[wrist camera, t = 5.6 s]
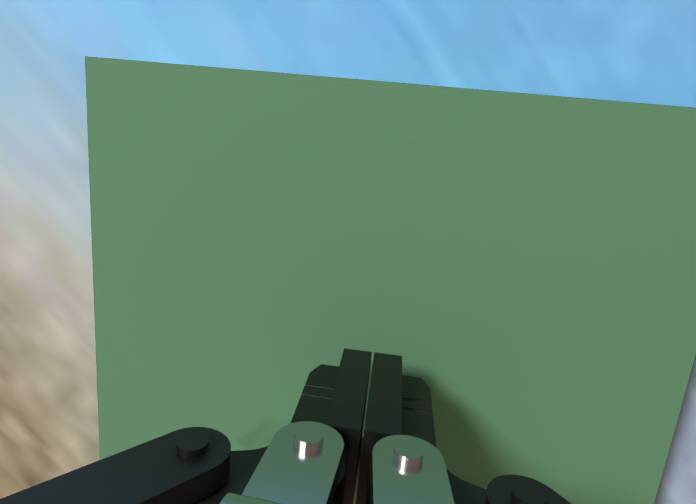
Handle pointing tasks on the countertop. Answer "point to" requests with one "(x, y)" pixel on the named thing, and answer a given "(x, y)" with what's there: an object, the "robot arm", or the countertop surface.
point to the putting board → (395, 263)
